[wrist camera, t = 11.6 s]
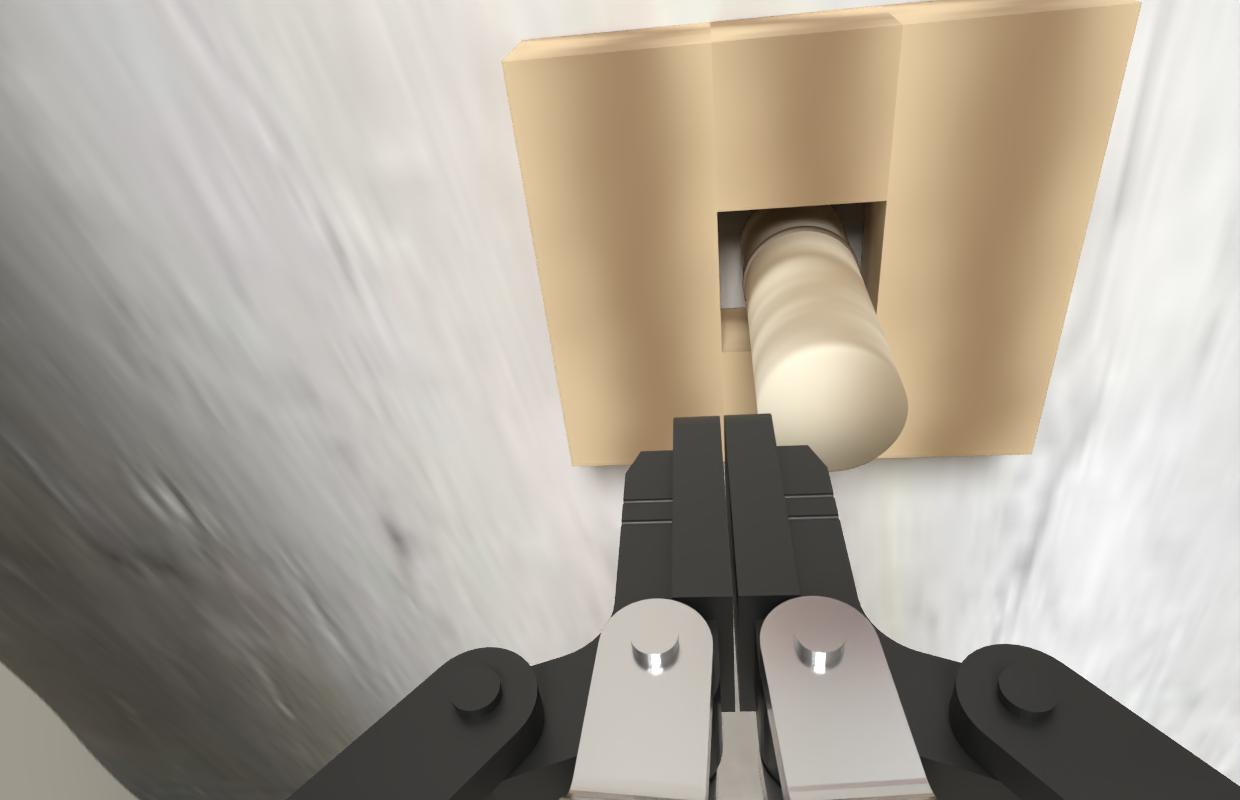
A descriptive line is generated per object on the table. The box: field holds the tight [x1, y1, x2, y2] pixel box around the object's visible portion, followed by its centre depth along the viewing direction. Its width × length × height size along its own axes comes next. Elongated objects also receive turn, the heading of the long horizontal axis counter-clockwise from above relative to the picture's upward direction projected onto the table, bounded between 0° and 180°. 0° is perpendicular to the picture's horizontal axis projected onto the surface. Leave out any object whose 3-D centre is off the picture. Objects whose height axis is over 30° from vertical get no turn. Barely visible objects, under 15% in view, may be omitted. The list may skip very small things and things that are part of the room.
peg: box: [741, 205, 908, 472], centre depth 22 cm, size 4×4×10 cm
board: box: [502, 0, 1142, 466], centre depth 25 cm, size 16×14×3 cm
